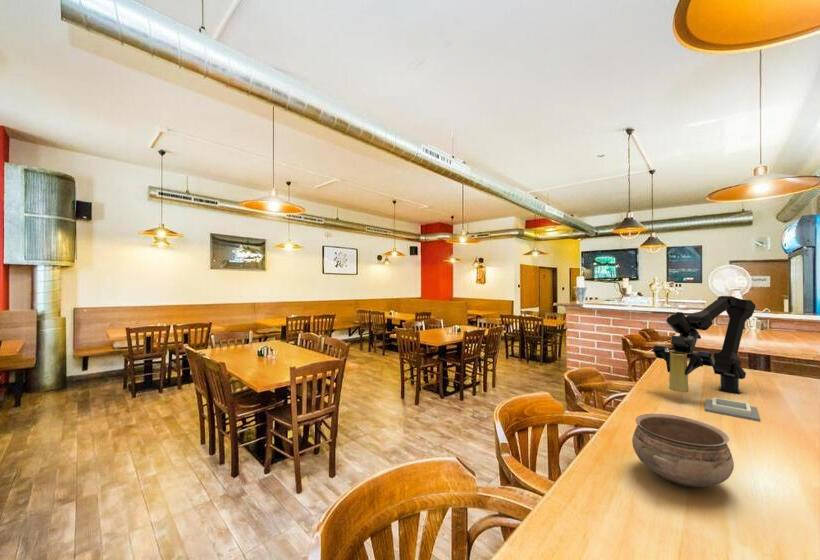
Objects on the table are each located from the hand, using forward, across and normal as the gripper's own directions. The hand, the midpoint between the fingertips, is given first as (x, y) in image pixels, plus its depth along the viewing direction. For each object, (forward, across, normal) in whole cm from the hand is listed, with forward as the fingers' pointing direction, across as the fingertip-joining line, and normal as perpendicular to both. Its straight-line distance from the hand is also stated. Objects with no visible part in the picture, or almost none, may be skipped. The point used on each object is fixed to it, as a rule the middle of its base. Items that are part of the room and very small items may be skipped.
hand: (676, 372), depth 134 cm
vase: (+4, 0, +6) cm, 7 cm away
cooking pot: (+51, +19, -36) cm, 65 cm away
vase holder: (+4, +14, +12) cm, 19 cm away
